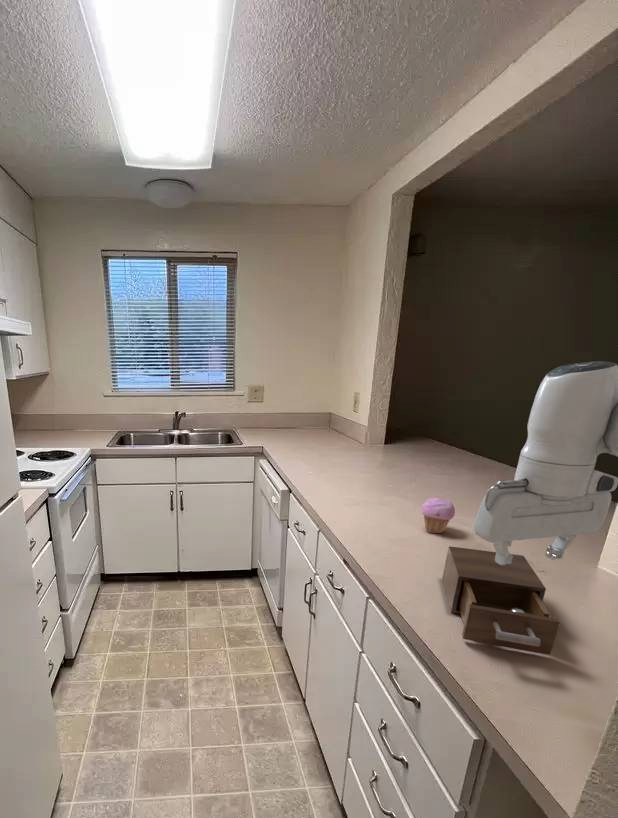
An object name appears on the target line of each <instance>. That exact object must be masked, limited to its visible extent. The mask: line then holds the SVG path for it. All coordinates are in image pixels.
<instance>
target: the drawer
mask: <svg viewBox="0 0 618 818" xmlns="http://www.w3.org/2000/svg"><path fill="white" fill-rule="evenodd" d="M457 604H458V607H459V610H460V614H461V615H460V614H459V615H460V617H461V621H462V624H463V628H462V629H463V630H462V634H461V637H462V640H466V641H472V642H475V643H477V642H478V643H483V644H488V645H494V646H498V647H503V648H509V649H515V650H519V651H526V652H530V653H535V654H542V655H548V656H550V655H551V653H552V650H553V647H554V643H555V640H556V637H557V634H558V630H559V627H560V625H561V620H559V618H557V617H552V616H550V615H551V614H550V612H549V611H548V609H547V607H546V606H545V604H544V603H543V601H541V599H540V598H539V596H538V595H537V593H536V591H533V590H526V589H520V588H513V587H506V586H499V585H492V584H486V583H479V582H472V581H465V580H462V584H461V589H460V593H459V598H458V603H457ZM511 608H521V609H523V610H525V611H526V612H527V613H521V612H514V611H508V610H509V609H511Z"/></svg>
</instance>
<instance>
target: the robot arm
mask: <svg viewBox="0 0 618 818" xmlns="http://www.w3.org/2000/svg"><path fill="white" fill-rule="evenodd" d="M526 425H527V438H526V442H525V444H524V446H523V447H522V449H521V450H520V453H519V458H518V462H517V466H516V470H515V473H514V478H513V479H511V480H505V479H503V480H499V481H496V483H495V484H493V485H492V486H490V488H488V489H487V490H486V491H485V496H484V497H483V499H482V501H481V503H480V505H479V508H478V511H477V514H476V516H475V519H474V522H473V523H474V524H473V531H474V534H475V535H476V536H477V537H479V538H481V539H483V540H484V541H486V542H489V543H492V545H493V547H494V550H495V552H496V556H495V562H496V563H498V564H500V565H509V564H511V563H512V559H513V556H514V555H512V554H513V553H510V552H509V548H508V547H511V546H512V543H513V541H514V542H515V541H522V540H523V541H524V540H534V539H544V538H555V537H556V538H555V540H554V541H553V543H552V544H551V545H547V546H546V551H545V553H544V555H545V557H546V558H549V559H550V560H552V561H553V560H562V559H563V558H564V555H565V551H567V549H568V548H569V547H570V546H571V545H572V544H573V543H574V542H575V540H576V538H577V535H582V534H583V535H585V534H595V533H596V532H597V531H599V530H600V528H602V526H603V525H604V524H605V521H606V518H607V515H608V513H609V510H610V507H611V502H612V493H611V492H613V491H615V490H616V489H617V487H618V477H617V476H614V475H611V474H609V473H606V472H602V471H600V470H596V469H595V468H594V466H595V467H596V465H595V463H596V464H597V461H596V459H597V458H598V456H599V455H600V454H608V455H612V456H615V457H617V458H618V364H617V363H615V362H612V361H604V360H603V361H602V360H597V361H596V360H595V361H585V362H583V361H581V362H573V363H568V364H564V365H560V366H558V367H556V368H553V369H552V370H550V371H549V372H547V373H546V375H545V376H544V377H543V379H542V380H541V382H540V384H539V387H538V389H537V391H536V394H535V396H534V401H533V403H532V407H531V409H530V413H529V416H528V421H527V424H526Z"/></svg>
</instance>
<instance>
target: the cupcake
mask: <svg viewBox="0 0 618 818" xmlns="http://www.w3.org/2000/svg"><path fill="white" fill-rule="evenodd" d="M420 510H421V514H422V515H423V519H424V528H425V530H426V532H427V533H430V534H441V533H443V532H444V531H445V530H446V528H447V526H448V524H449V522H450V520H452V519H453V518H454V516H455V513H456V509H455V506H454V503H452V501H450V500H447V499H444V498H441V497H430V498H428V499H427V500H426V501H425V502H423V504H422V505H421V509H420Z"/></svg>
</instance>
